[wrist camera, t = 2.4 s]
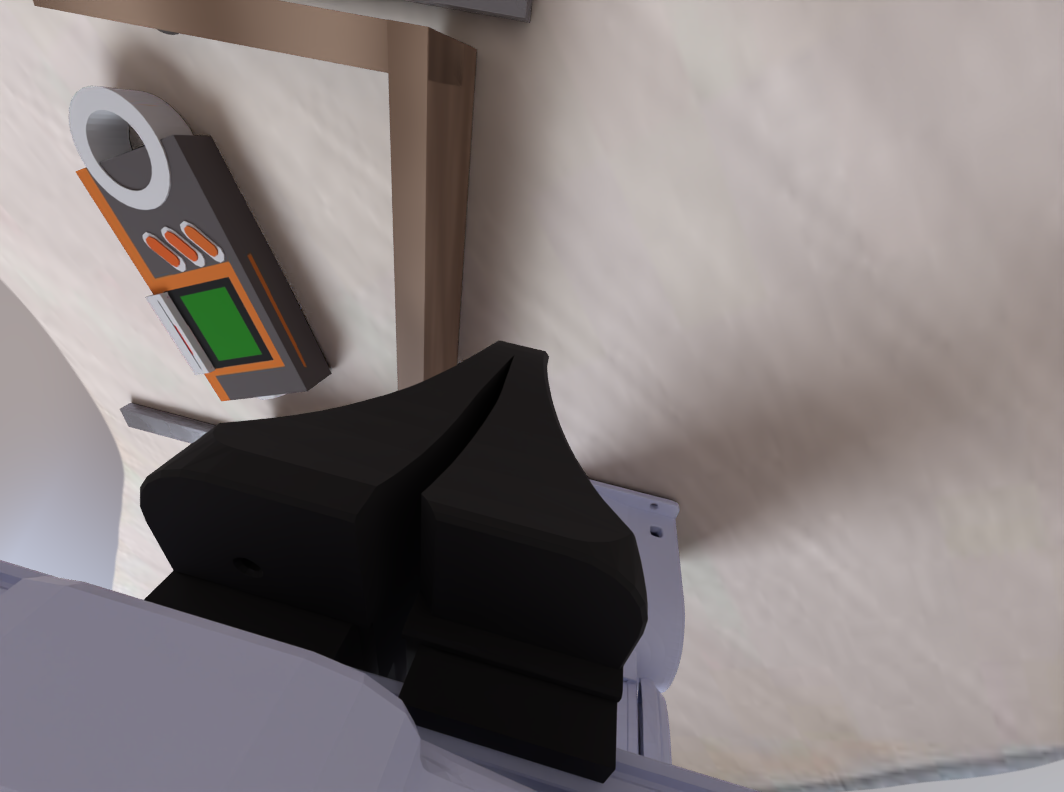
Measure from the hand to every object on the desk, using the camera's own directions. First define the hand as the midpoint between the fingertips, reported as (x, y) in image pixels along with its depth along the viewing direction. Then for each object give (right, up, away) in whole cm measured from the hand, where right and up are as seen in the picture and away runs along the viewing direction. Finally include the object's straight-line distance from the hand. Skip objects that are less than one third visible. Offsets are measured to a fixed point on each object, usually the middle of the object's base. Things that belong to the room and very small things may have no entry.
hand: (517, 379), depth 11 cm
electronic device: (-16, +7, +12) cm, 21 cm away
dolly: (-10, +5, +11) cm, 16 cm away
